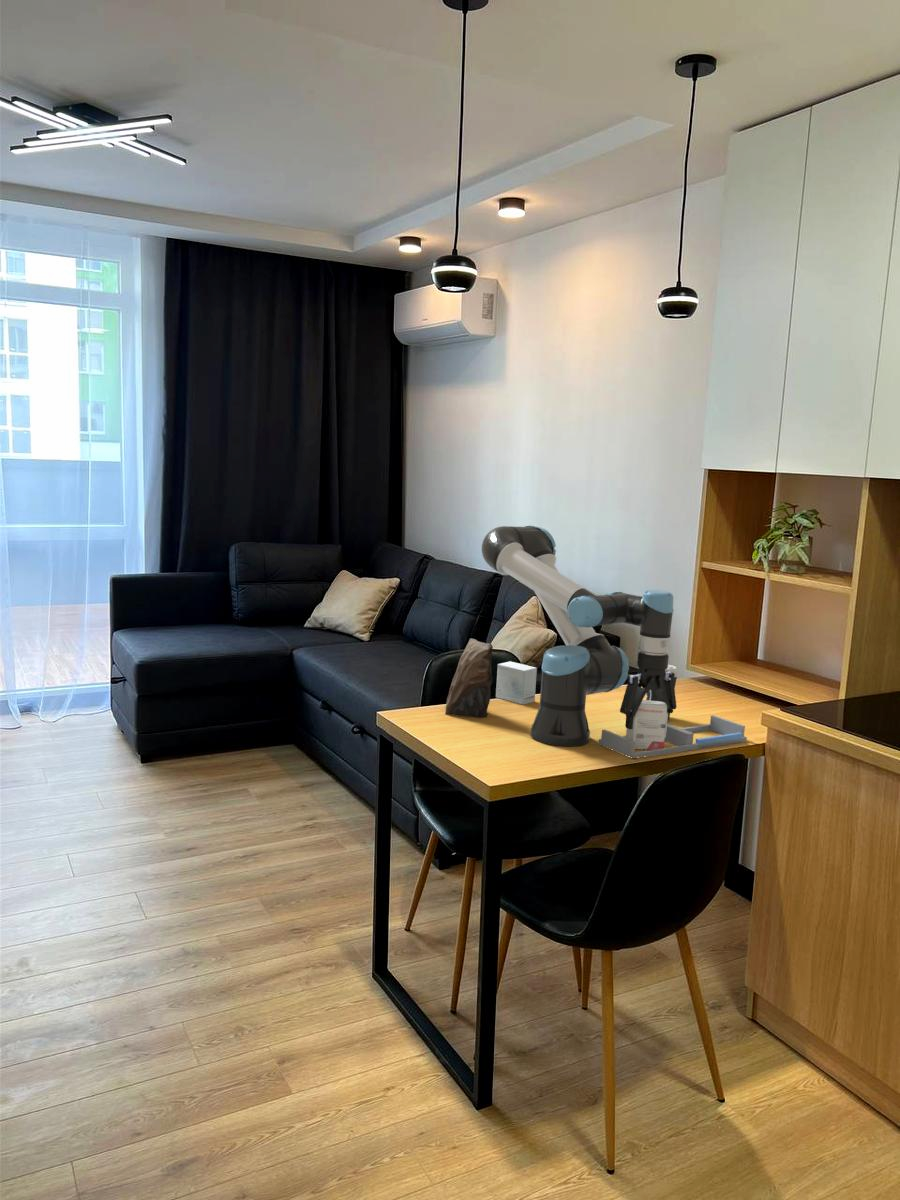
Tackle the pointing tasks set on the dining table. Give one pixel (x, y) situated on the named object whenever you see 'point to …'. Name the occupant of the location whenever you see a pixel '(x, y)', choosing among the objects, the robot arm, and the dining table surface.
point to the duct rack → (680, 738)
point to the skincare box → (516, 682)
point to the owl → (471, 682)
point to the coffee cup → (651, 693)
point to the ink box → (650, 725)
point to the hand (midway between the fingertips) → (645, 738)
